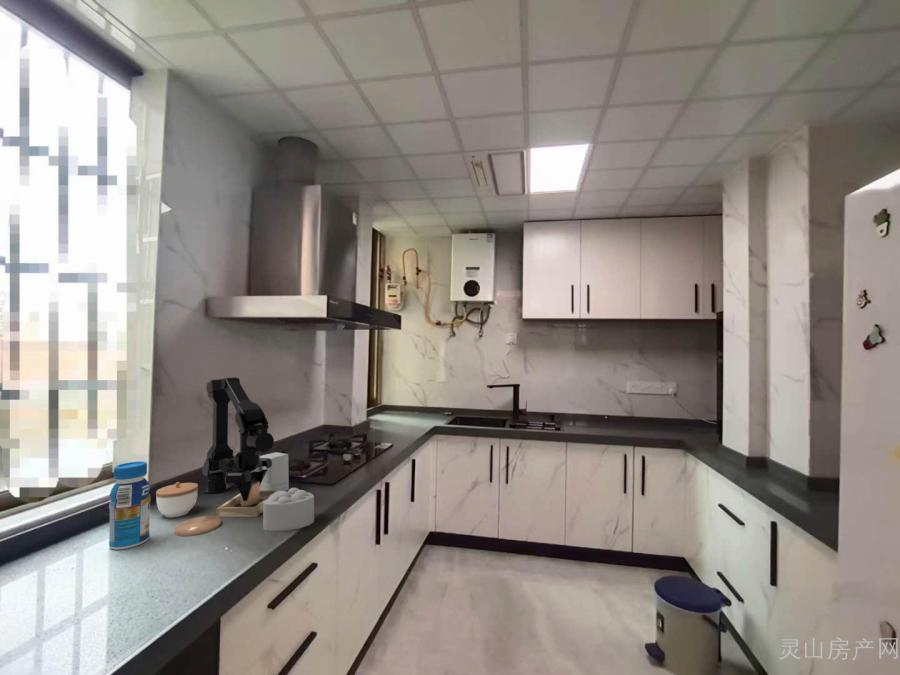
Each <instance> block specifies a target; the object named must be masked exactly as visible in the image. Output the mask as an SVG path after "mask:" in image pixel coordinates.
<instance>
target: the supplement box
mask: <svg viewBox="0 0 900 675" xmlns="http://www.w3.org/2000/svg"><path fill="white" fill-rule="evenodd" d="M260 458H270V459H271V460H272V466H271V467H270V468H266V466H265V467H262V468H263V470H264V469H267V470H268V471H267V472H266V474H265V476H264V478H263V480H262V482H261V484H260V491H261V490H279V491H286V492H287V491H288V490H289V489H290V488H289V487H290V486H289V485H290V484H289V483H290V480H289V478H290V477H289V453H282V452H277V451H275V452H271V453H267V454H263V455H260Z"/></svg>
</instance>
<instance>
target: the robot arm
mask: <svg viewBox="0 0 900 675" xmlns="http://www.w3.org/2000/svg"><path fill="white" fill-rule="evenodd" d="M205 388H206V393H207V397H208V399H209V400H210V401H211V403H212V445H211V447H210V448H209V449H208V452H207V453H206V458H205V460H204V463H203V465H202V468H201V473H202V475H203V476H204V477H207V489H206V490H204V491H203V494H221V493H223V492H226V491H227V490H228V489H230V488H232V485H228V484H235V485H236V486H237V488H238V491H239V494H240V493H241V496H242V499H243V501H247V500H248V497H249V494H250V490H251V487H252V484H253V481H259V482H260V484H261V482H262V480H263V478H264V476H265V474H266V472H267V471H268V470H267V469H264V470H263V468H262V467H265V466H266V468H270V467H271V466H272V460H271V459H270V458H260V456H261V453H267V452H268V451H270V450H271V449H272V448H273V447H274V442H275V438H274V437H273V435H272V433H269V432H268V429H269V421H268V418H267V417H266V415H265V412H264V410H263V409H262V408H261V407H260V405H259V404H258V403H256V402H253V401H251V400H250V398H249V396H248V394H247V393H246V391H245V390H244V388H243V386H242V384H241V380H240V378H239V377H236V376H233V377H232V376H230V377H224V378H217V379H214V378H213V379H211V380H210V381H209V382H208V383H207V384H206V387H205ZM230 402H231V403H232V405H233V407H234V409H235V412H236V413H235V415H234V418H235V419H234V420H235V423H236V425H237V427H238V433H239V451H238V452H237V453H236V455H235V457H234V450H233V448H231V447H230V445H229V443H228V442H229V438H228V437H229V436H228V435H229V403H230Z"/></svg>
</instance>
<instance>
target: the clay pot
mask: <svg viewBox="0 0 900 675" xmlns="http://www.w3.org/2000/svg"><path fill="white" fill-rule="evenodd" d="M239 494H240V503H239V505H240V506H241V507H249V506H253V505H256V504H259V503H260V502H261V501H260V500H261V499H260V482H259V481H253V484H252V487H251V490H250V494H249V497H248V500H247V501H243V499H242V496H241V493H240V492H239Z"/></svg>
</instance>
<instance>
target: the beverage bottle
mask: <svg viewBox="0 0 900 675" xmlns="http://www.w3.org/2000/svg"><path fill="white" fill-rule="evenodd" d="M147 474H148V463H147V462H146V461H143V460H141V461H129V462H124V463H121V464H117V465H115V466H114V468H113V479H114V480H115V481H116V482H115V483H114V485H112V486H113V487H112V488H111V489H110V493H109V497H110V498H111V499H110V500H109V503H108V509H109V537H108V538H109V540H108V546H109V549H111V550H115V551H117V550H127V549H131V548H135V547H138V546H140V545H142V544H144V543H146V542H147V541H148V540H149V539H150V518H151V517H150V516H151V514H150V512H151V511H150V510H151V499H152V498H151V494H150V493H149V492H150V491H151V485H150V483H149V482H148V480H147V479H146V478H145V476H147Z"/></svg>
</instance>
